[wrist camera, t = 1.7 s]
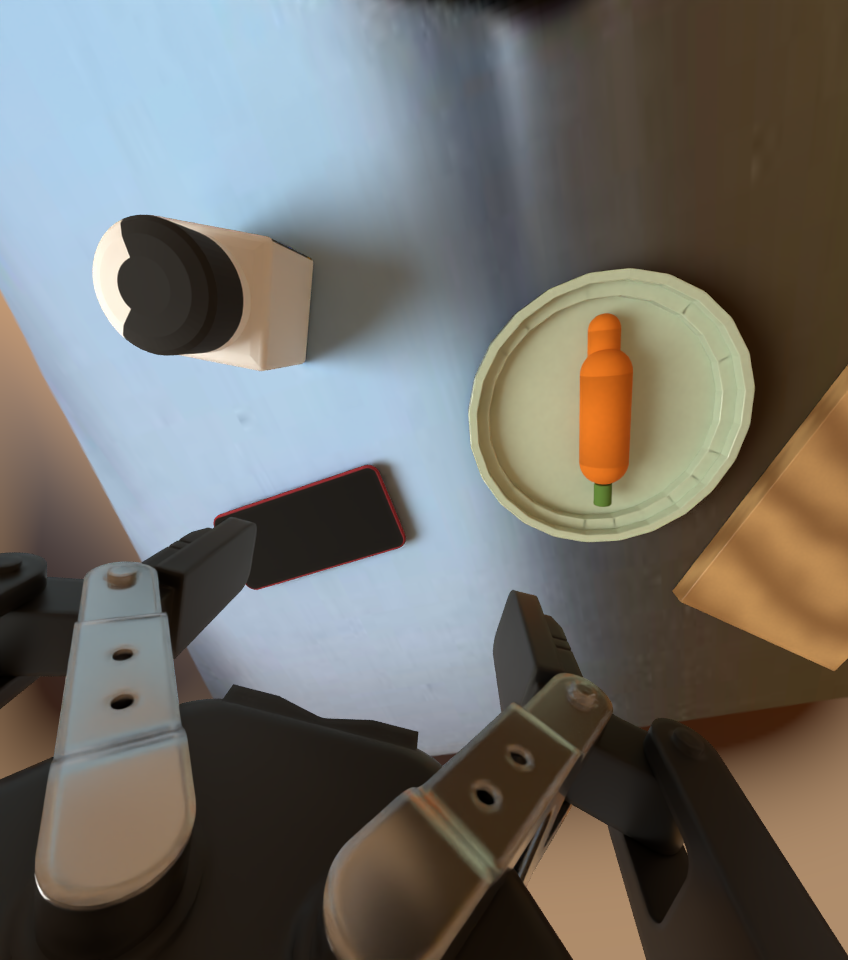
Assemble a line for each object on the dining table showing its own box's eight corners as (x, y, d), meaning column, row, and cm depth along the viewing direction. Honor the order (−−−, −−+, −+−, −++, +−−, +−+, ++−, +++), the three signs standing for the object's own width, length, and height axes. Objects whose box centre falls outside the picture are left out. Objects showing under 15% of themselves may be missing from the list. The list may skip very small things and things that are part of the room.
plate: (545, 225, 28) (552, 215, 25) (791, 346, 28) (819, 347, 26) (429, 469, 33) (427, 479, 31) (635, 563, 34) (647, 579, 32)
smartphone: (408, 545, 35) (249, 592, 37) (409, 540, 36) (253, 587, 38) (374, 463, 33) (208, 519, 35) (376, 459, 34) (214, 514, 36)
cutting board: (851, 358, 28) (871, 360, 27) (1029, 446, 29) (1057, 452, 28) (671, 591, 35) (680, 602, 34) (820, 658, 36) (834, 671, 34)
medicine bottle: (315, 258, 29) (222, 211, 18) (306, 364, 32) (218, 381, 20) (214, 239, 30) (59, 181, 18) (213, 346, 32) (75, 352, 21)
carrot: (575, 316, 29) (587, 314, 26) (625, 311, 28) (644, 308, 25) (574, 497, 33) (584, 514, 30) (618, 494, 32) (633, 511, 29)
